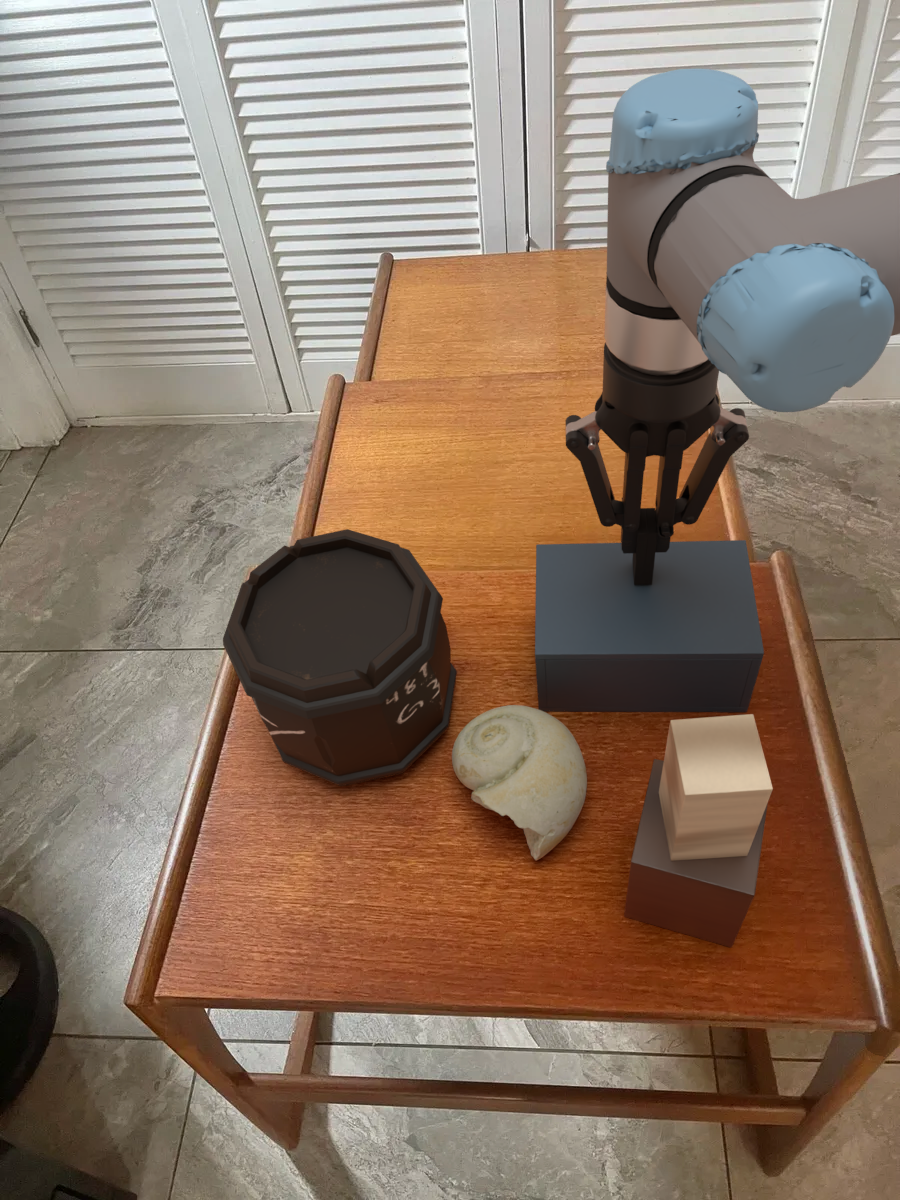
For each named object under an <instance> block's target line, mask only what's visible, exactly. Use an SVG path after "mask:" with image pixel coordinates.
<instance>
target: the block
mask: <svg viewBox="0 0 900 1200" xmlns="http://www.w3.org/2000/svg"><path fill="white" fill-rule="evenodd" d="M667 733H668V734H667V738H666V744H665V752H664V758H663V761H664V763H663V769H662V775H661V781H660V788H659V797H660V802H661V808H662V814H663V819H664V825H665V830H666V836H667V842H668V847H669V853H670V859H671V861H675V860H691V859H707V858H723V857H739V856H747V855H748V852H749V850H750V847H751V845H752V842H753V839H754V837H755V834H756V832H757V829H758V826H759V824H760V821H761V819H762V816H763V813H764V811H765V808H766V806H767V807H768V805H767V803H768V804H769V801H770V797H771V795H772V792H773V789H774V788H773V784H772V780H771V775H770V772H769V768H768V765H767V761H766V757H765V753H764V750H763V746H762V742H761V738H760V733H759V731H758V727H757V721H756V720H755V715H754V713H750V714H736V715H733V714H732V715H720V716H708V717H694V718H683V719H682V718H681V719H680V718H679V719H671V720H669V727H668V732H667Z"/></svg>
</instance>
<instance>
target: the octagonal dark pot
mask: <svg viewBox="0 0 900 1200" xmlns="http://www.w3.org/2000/svg"><path fill="white" fill-rule="evenodd" d="M238 590H239V591H238V594H237V595H236V600H235V602H234V605H233V608H232V611H231V614H230V616H229V621H228V623H227V626H226V628H225V631H224V633H223V637H222V645H223V647H224V650H225V652H226V654H227V656H228V658H229V660H230V662H231V665H232V667H233V669H234V672H235V673H236V676H237V677H238V679H239V682H240V684H241V686H242V688H243V690H244V692H245V695H246V696H248V697H250V698H251V699H252V701H253V704H254V705H255V708H256V710H257V712H258V714H259V717H260V719H261V720H262V722H263V724H264V726H265V727H266V729H267V731H268V733H269V735H270V737H271V740H272V741H273V743H274V746H275V747H276V749H277V752H278V754H279V756H280V758H281V760H282V762H283V763H285V764H286V765H288V766H291V767H293V768H296V769H298V770H301V771H303V772H306V773H308V774H310V775H313V776H315V777H318V778H319V779H322V780H325V781H328V782H330V783H332V784H335V785H337V786H340V787H343V786H350V785H356V784H359V783H365V782H368V781H369V782H370V781H373V780H374V781H375V780H378V779H383V778H388V777H392V776H397V775H401V774H403V773H405V772H406V771H407V770H408V769H409V768H410V767H411V766H412V765H413V764H414V763H415V762H417V761H418V759H420V757H421V756H422V755H423V754H424V753H426V751H427V750H428V749H429V748H430V747H431V746H433V744H435V742H437V740H439V738H440V737H441V736H443V734H444V733H446V732H447V731H448V729H449V726H450V719H451V714H452V706H453V701H454V694H455V688H456V680H457V673H458V670H457V669H456V667H455V666H454V665H453V663H452V656H451V655H452V654H451V653H452V652H451V650H452V649H451V645H450V639H449V634H448V633H449V632H448V629H447V624H446V622H445V620H444V617H443V614H442V612H441V611H442V606H443V601H444V597H443V596H442V595H441V593H440V591H439V590H438V588H437V587H436V586H435V584H434V583H433V581H432V580H431V579H430V578H429V576H428V574H427V573H426V572H425V570H424V569H423V568H422V566H421V565H420V563H419V562H418V560H417V559H416V558H415V556H414V555H413V553H412V552H411V550H410V549H407V548H404V547H401V546H400V544H399V543H395V542H393V541H392V542H391V541H389V540H385V539H382V538H378V537H375V536H372V535H369V534H365V533H362V532H359V531H355V530H352V529H348V528H346V529H341V530H336V531H331V532H328V533H323V534H319V535H313V536H308V537H305V538H303V537H302V538H299V539H296V541H295V543H294V544H293V545H290V546H288V545H285V544H284V545H283V546H282V547H281V548H279V549H278V550H277V551H275V552H274V553H273V554H271V555H270V556H269V557H268V558H266V559H265V560H264V561H262V562H261V563H260V564H258V566H256V567H255V568H254V569H253V570H251V571H250V572H249V575H248V579H247V580H246V581H244V582H242V583H241V585H240V588H239V589H238Z"/></svg>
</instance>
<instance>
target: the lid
mask: <svg viewBox="0 0 900 1200" xmlns="http://www.w3.org/2000/svg"><path fill="white" fill-rule="evenodd" d="M535 557H536V558H535V615H534V616H535V617H534V618H535V619H534V620H535V621H534V660H535V659H762V660H763V659H764V655H765V649H764V643H763V637H762V631H761V625H760V618H759V613H758V606H757V601H756V595H755V588H754V582H753V576H752V570H751V563H750V558H749V552H748V545H747V540H746V539H737V540H736V539H735V540H693V541H692V540H691V541H689V540H688V541H687V540H685V541H670V546H669V549H668V551H667V552H657V553H655V561H654V571H653V580H652V585H634V577H633V562H632V559H633V553H623V551H622V548H621V542H596V543H595V542H593V543H588V542H586V543H545V544H544V543H542V544H541V543H540V544H539V543H537V544H536V545H535Z"/></svg>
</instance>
